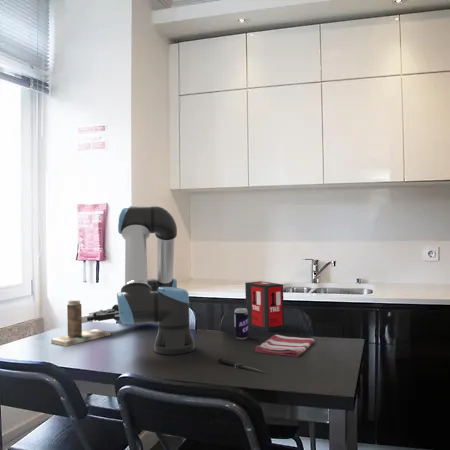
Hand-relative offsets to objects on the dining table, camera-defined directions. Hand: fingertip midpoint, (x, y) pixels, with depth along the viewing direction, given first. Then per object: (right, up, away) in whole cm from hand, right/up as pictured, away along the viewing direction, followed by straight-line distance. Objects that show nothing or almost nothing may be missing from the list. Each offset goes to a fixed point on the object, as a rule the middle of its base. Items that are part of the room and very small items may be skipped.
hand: (79, 320), depth 193 cm
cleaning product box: (+79, -7, +16) cm, 81 cm away
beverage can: (+68, -7, -4) cm, 68 cm away
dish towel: (+84, -7, -18) cm, 87 cm away
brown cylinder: (0, -6, -3) cm, 7 cm away
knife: (+69, -7, -45) cm, 83 cm away
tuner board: (+1, -8, +1) cm, 8 cm away
